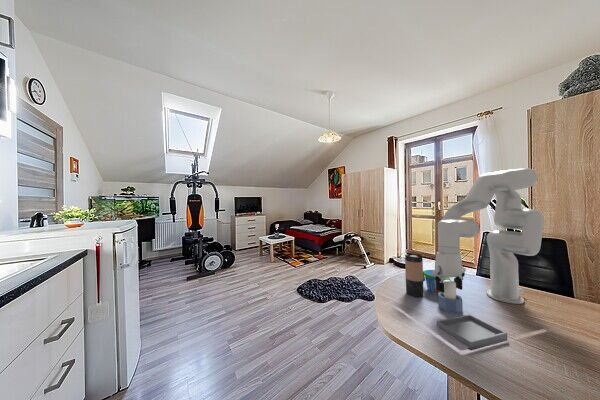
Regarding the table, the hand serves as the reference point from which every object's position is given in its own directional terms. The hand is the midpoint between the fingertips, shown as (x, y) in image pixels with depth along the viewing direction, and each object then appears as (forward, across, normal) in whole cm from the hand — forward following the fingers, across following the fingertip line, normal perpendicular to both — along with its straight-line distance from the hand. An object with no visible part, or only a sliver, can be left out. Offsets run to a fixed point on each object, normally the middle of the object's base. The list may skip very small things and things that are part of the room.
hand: (449, 289), depth 89 cm
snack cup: (+9, -9, -14) cm, 19 cm away
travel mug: (+9, +4, -15) cm, 18 cm away
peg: (+8, 0, 0) cm, 8 cm away
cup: (+9, 0, 0) cm, 9 cm away
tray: (+9, +8, +14) cm, 18 cm away
